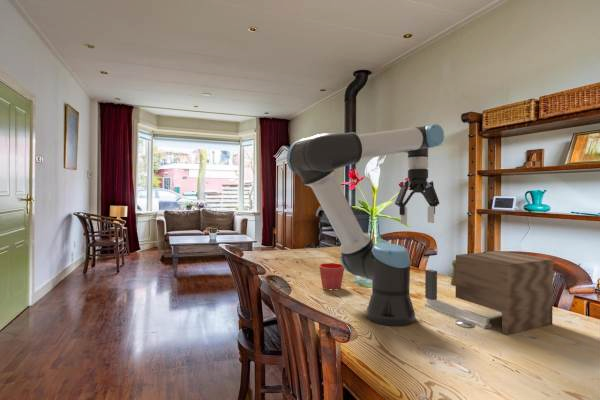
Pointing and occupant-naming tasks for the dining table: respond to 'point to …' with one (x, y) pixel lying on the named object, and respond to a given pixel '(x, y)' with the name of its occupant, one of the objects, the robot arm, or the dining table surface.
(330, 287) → the flower pot
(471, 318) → the scraper
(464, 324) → the steel disc
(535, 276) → the walnut cabinet
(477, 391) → the dining table surface
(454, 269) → the cork
